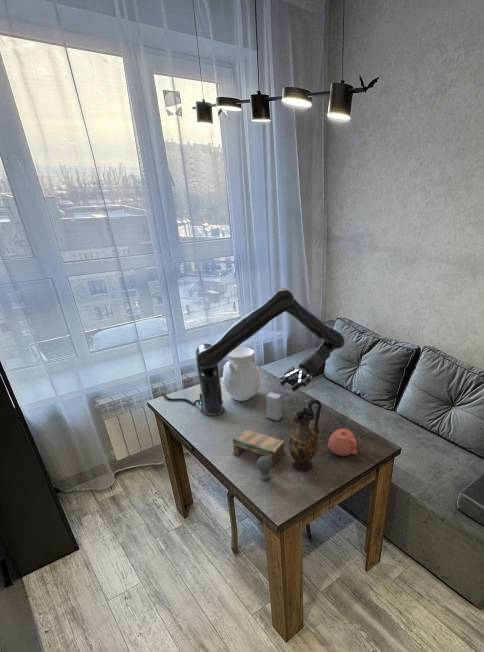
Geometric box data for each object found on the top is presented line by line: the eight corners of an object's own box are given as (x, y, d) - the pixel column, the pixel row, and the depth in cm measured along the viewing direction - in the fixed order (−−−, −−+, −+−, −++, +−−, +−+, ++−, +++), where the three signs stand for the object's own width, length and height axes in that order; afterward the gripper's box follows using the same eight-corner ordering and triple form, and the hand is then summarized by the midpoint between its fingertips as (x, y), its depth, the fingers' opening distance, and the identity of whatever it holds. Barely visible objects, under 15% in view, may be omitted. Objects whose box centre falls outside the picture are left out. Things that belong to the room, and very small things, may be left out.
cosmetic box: (282, 416, 189) (282, 395, 183) (277, 421, 186) (277, 399, 180) (271, 413, 191) (270, 391, 185) (266, 417, 188) (265, 395, 182)
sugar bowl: (341, 438, 176) (343, 418, 171) (365, 452, 168) (367, 433, 163) (321, 449, 169) (322, 429, 164) (345, 465, 160) (347, 444, 155)
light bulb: (258, 472, 154) (256, 452, 149) (273, 472, 155) (273, 452, 150) (257, 483, 149) (255, 462, 144) (273, 483, 150) (272, 462, 144)
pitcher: (249, 408, 194) (246, 362, 181) (217, 401, 199) (212, 355, 186) (267, 392, 209) (266, 348, 196) (237, 385, 214) (233, 341, 202)
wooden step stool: (234, 454, 163) (232, 439, 160) (247, 441, 171) (246, 426, 168) (272, 466, 158) (271, 451, 154) (284, 452, 166) (284, 438, 162)
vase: (285, 458, 162) (285, 395, 147) (315, 454, 165) (317, 391, 150) (291, 477, 153) (291, 411, 137) (322, 472, 156) (325, 407, 141)
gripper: (298, 353, 184) (274, 376, 179) (318, 361, 175) (293, 385, 169) (304, 365, 189) (280, 388, 184) (324, 373, 180) (300, 397, 174)
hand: (286, 386), depth 177 cm, fingers open, 8 cm apart
